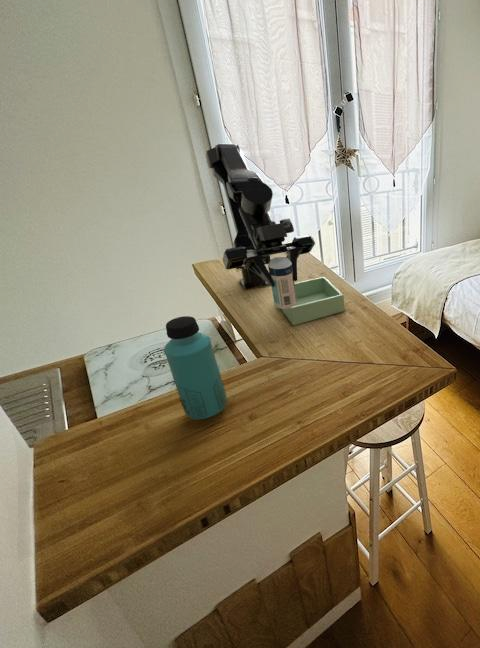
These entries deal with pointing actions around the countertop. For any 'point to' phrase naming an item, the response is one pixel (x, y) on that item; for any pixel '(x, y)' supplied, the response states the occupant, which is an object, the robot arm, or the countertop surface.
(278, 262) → the labeled cylindrical canister
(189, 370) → the beverage bottle
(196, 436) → the countertop surface
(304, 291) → the bin
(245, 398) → the countertop surface
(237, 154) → the robot arm
